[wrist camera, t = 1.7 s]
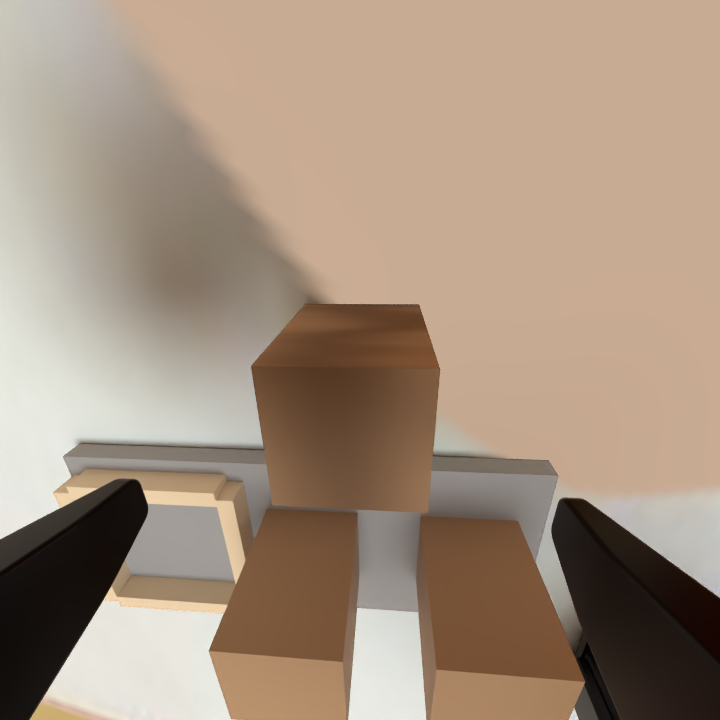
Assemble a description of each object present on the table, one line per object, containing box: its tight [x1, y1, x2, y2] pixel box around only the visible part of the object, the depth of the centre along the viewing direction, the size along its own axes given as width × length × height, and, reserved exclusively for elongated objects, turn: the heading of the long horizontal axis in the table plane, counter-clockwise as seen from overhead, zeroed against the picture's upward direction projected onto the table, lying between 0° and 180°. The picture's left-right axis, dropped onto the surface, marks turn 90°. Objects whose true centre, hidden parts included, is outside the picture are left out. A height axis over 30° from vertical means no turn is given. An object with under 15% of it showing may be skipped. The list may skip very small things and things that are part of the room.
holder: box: [53, 444, 585, 720], centre depth 15 cm, size 23×10×7 cm, turn 91°
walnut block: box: [251, 304, 440, 513], centre depth 12 cm, size 4×4×6 cm
